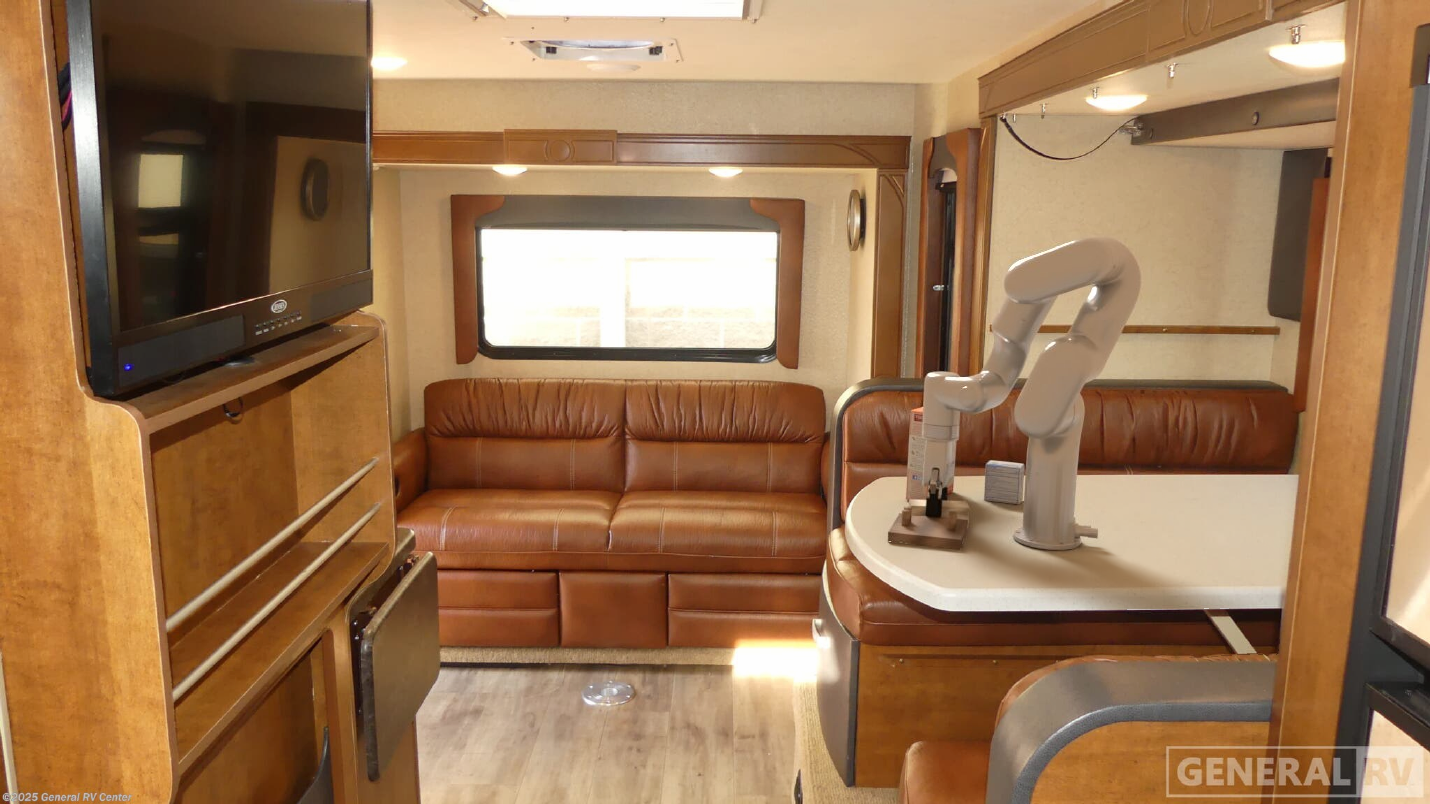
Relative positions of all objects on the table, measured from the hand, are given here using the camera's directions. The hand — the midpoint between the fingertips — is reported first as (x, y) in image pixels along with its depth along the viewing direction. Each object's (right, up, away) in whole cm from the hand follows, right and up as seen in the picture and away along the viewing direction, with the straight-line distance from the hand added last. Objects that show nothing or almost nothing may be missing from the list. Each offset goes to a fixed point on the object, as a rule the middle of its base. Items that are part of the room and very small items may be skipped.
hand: (936, 510), depth 213 cm
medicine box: (+19, 0, +16) cm, 24 cm away
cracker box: (+3, +1, +19) cm, 19 cm away
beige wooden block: (0, -2, 0) cm, 2 cm away
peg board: (-4, -4, -10) cm, 12 cm away
